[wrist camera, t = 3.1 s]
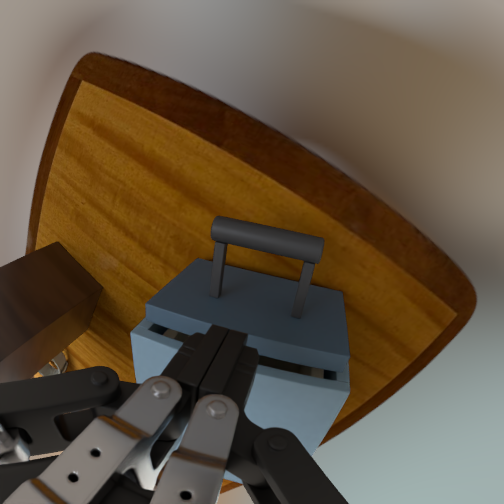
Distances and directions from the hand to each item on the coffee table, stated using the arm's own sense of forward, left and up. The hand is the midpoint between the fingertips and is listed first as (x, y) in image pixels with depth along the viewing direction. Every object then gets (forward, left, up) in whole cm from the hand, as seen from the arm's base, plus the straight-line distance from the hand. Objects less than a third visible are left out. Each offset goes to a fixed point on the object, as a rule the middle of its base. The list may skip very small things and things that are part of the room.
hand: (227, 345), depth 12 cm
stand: (+18, -15, -11) cm, 26 cm away
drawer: (+5, +3, -10) cm, 12 cm away
